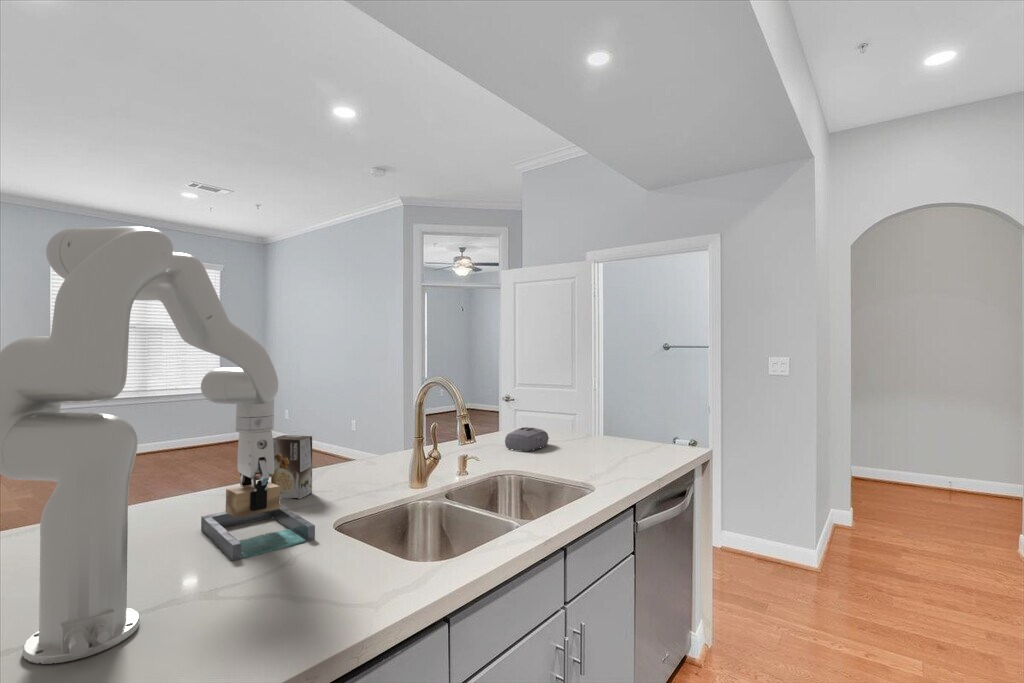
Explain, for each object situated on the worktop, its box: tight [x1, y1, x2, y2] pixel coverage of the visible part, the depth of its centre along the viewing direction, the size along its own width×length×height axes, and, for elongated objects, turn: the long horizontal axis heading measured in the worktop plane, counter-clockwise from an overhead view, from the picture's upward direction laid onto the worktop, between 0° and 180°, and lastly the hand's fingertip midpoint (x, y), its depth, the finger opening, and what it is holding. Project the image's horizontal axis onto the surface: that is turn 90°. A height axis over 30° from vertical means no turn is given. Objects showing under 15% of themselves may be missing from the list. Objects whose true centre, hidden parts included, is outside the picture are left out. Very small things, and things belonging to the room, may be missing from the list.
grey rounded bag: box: [504, 426, 550, 452], centre depth 211 cm, size 15×8×20 cm
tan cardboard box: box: [225, 481, 281, 518], centre depth 113 cm, size 6×9×5 cm, turn 138°
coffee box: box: [270, 434, 313, 500], centre depth 142 cm, size 9×6×16 cm
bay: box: [200, 504, 316, 562], centre depth 112 cm, size 23×16×3 cm
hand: (253, 505), depth 113 cm, fingers closed on tan cardboard box, 6 cm apart
